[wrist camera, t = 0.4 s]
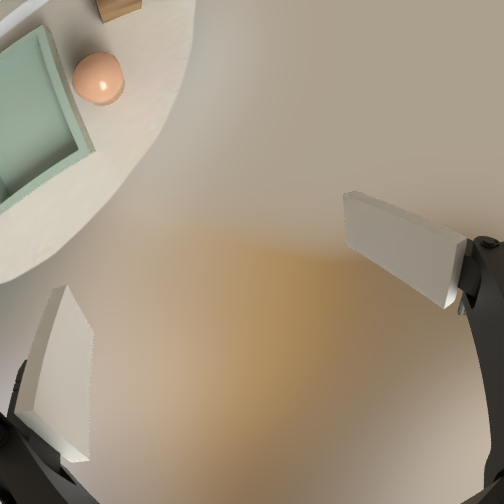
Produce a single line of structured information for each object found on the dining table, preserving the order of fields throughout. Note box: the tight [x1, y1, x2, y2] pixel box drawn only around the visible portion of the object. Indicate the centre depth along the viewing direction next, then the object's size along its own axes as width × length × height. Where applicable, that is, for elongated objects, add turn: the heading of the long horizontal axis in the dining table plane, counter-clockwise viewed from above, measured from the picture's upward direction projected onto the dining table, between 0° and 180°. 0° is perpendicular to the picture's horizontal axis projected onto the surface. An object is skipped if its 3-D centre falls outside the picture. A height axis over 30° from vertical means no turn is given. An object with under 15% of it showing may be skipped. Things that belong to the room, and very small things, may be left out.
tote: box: [0, 24, 96, 215], centre depth 23 cm, size 18×14×4 cm
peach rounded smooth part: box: [72, 52, 125, 106], centre depth 25 cm, size 5×5×7 cm
